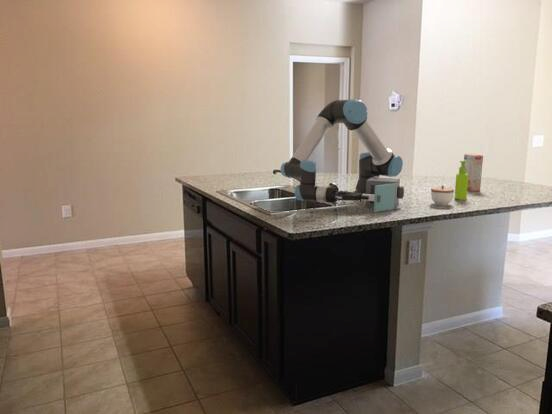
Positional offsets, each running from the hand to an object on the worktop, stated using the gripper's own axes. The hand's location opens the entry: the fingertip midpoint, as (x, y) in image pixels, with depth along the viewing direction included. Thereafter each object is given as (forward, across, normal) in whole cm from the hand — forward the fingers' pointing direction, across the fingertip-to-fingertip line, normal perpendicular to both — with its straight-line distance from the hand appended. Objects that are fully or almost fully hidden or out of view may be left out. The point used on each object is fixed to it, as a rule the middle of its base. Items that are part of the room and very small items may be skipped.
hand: (376, 198), depth 215 cm
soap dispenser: (+35, -53, -6) cm, 63 cm away
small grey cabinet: (+1, -16, -6) cm, 17 cm away
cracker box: (+39, -88, -6) cm, 97 cm away
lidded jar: (+26, -31, -6) cm, 41 cm away
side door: (+4, -4, -6) cm, 8 cm away
